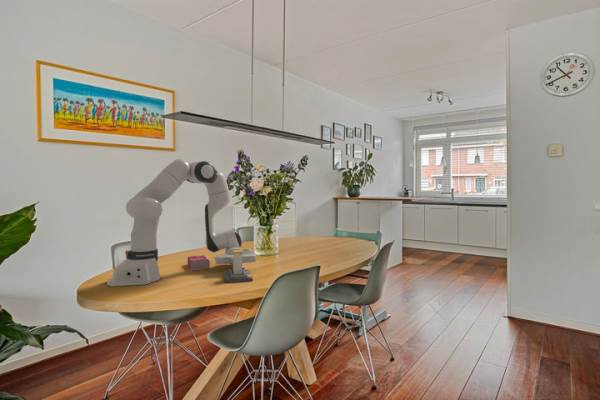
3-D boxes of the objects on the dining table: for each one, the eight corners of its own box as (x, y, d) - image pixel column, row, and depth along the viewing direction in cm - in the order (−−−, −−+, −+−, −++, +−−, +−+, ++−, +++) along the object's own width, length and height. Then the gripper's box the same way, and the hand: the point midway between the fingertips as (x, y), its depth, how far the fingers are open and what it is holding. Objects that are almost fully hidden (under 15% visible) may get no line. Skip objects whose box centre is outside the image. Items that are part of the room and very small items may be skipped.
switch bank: (226, 282, 161) (226, 276, 161) (224, 273, 177) (224, 268, 177) (252, 280, 164) (252, 275, 164) (248, 272, 180) (248, 267, 180)
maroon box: (202, 253, 206) (209, 260, 188) (202, 261, 206) (209, 269, 188) (186, 254, 202) (191, 261, 184) (186, 263, 202) (191, 271, 184)
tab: (233, 274, 169) (233, 252, 168) (233, 272, 173) (233, 250, 172) (242, 274, 170) (242, 251, 169) (241, 272, 174) (241, 250, 173)
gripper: (214, 251, 183) (215, 256, 170) (253, 249, 189) (257, 254, 175) (214, 263, 183) (215, 269, 170) (253, 261, 189) (257, 267, 176)
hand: (237, 261), depth 173 cm, fingers closed, pressing on tab
